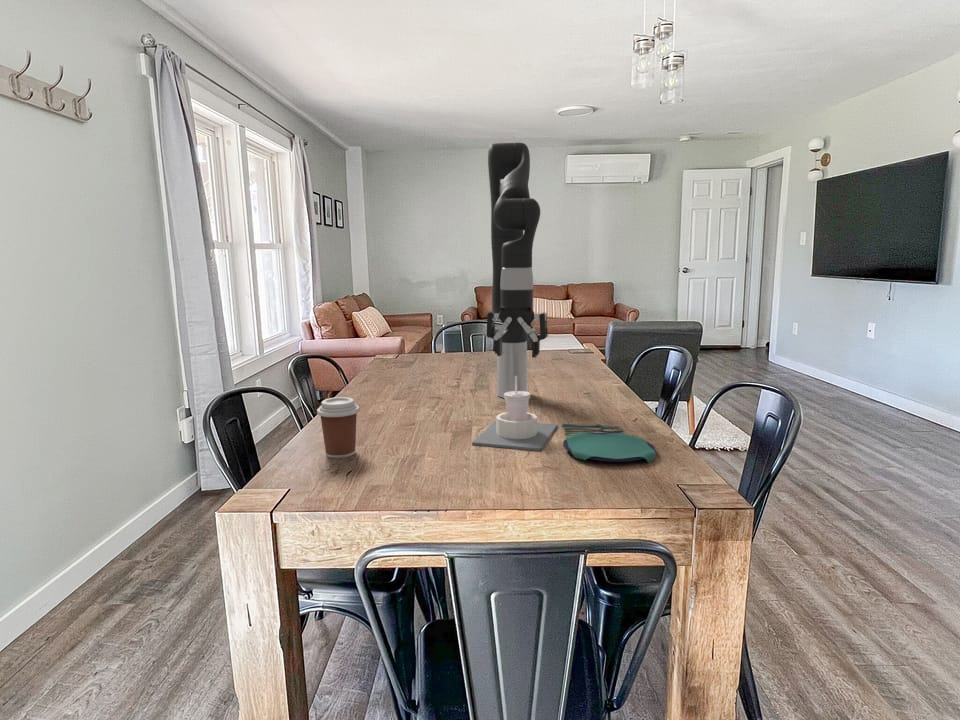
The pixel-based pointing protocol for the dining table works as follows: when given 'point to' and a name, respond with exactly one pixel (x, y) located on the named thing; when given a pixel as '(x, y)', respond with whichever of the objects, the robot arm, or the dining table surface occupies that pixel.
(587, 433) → the cutlery set
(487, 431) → the sleeve stand
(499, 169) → the robot arm
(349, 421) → the coffee cup
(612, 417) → the dining table surface
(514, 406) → the smoothie
